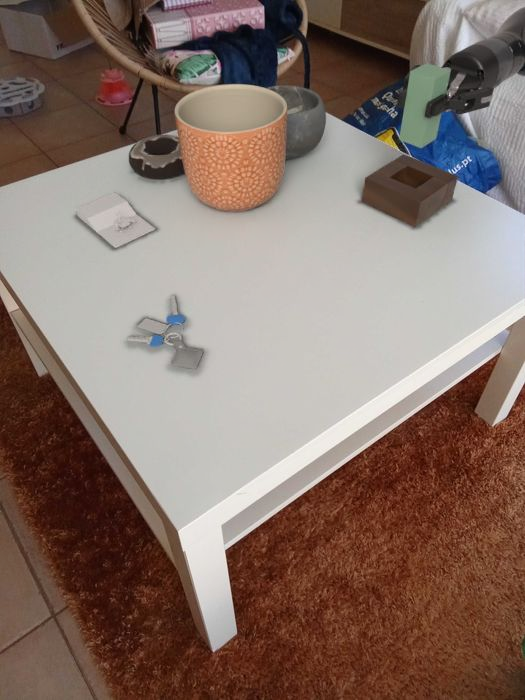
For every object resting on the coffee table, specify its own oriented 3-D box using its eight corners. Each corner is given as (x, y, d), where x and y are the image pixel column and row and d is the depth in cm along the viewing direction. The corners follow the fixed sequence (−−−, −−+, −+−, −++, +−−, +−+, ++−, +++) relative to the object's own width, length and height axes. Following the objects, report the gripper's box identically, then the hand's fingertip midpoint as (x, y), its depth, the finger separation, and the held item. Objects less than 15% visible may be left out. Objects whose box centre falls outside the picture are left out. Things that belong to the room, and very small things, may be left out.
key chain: (210, 365, 69) (209, 361, 69) (145, 387, 67) (144, 383, 66) (175, 297, 78) (174, 292, 77) (116, 314, 76) (115, 310, 75)
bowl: (238, 138, 110) (236, 85, 103) (313, 130, 112) (315, 78, 104) (251, 176, 100) (249, 121, 93) (332, 168, 102) (336, 113, 94)
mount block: (399, 177, 99) (403, 153, 96) (452, 200, 94) (458, 175, 90) (361, 202, 94) (364, 177, 91) (415, 227, 89) (420, 202, 85)
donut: (145, 148, 108) (142, 128, 105) (203, 154, 106) (201, 134, 103) (120, 179, 100) (115, 158, 97) (182, 187, 98) (179, 165, 95)
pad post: (414, 130, 87) (426, 62, 80) (436, 138, 86) (451, 70, 78) (398, 139, 86) (410, 71, 78) (421, 148, 84) (434, 79, 76)
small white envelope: (116, 198, 96) (113, 185, 94) (155, 229, 90) (153, 215, 88) (77, 215, 93) (73, 202, 91) (115, 248, 86) (111, 234, 85)
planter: (166, 209, 94) (152, 119, 82) (217, 162, 104) (210, 76, 93) (258, 234, 88) (255, 142, 77) (302, 182, 98) (305, 94, 87)
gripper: (443, 33, 89) (376, 65, 81) (528, 56, 82) (464, 93, 74) (433, 82, 94) (370, 116, 86) (512, 107, 87) (451, 147, 79)
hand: (414, 105), depth 80 cm, fingers closed on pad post, 4 cm apart
